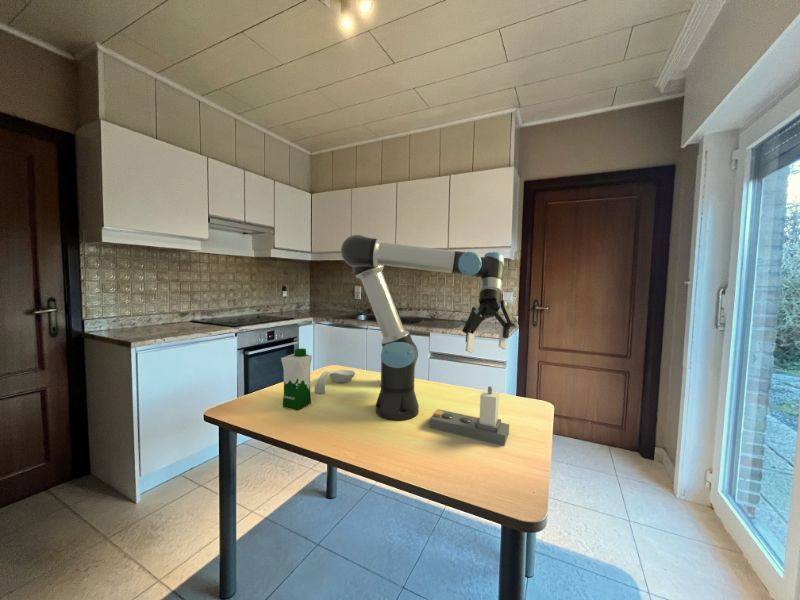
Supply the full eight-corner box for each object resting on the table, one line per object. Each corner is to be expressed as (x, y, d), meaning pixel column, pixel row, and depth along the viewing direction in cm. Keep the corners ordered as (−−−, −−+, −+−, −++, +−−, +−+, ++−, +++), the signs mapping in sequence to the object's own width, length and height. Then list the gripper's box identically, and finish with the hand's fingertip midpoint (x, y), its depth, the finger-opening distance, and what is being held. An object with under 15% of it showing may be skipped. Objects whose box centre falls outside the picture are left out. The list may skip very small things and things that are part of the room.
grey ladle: (337, 375, 157) (337, 360, 156) (359, 378, 153) (359, 363, 152) (307, 392, 134) (307, 374, 134) (332, 396, 130) (332, 378, 130)
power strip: (429, 427, 105) (429, 414, 105) (438, 417, 113) (438, 405, 112) (504, 445, 95) (505, 431, 95) (508, 433, 102) (509, 420, 102)
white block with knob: (479, 427, 100) (480, 388, 99) (482, 420, 104) (484, 383, 103) (494, 430, 98) (496, 390, 97) (497, 423, 102) (499, 385, 101)
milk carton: (314, 402, 123) (314, 349, 121) (298, 412, 115) (298, 355, 113) (295, 399, 126) (295, 347, 125) (278, 407, 118) (277, 352, 116)
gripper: (528, 289, 111) (525, 350, 103) (470, 303, 130) (463, 356, 122) (515, 279, 107) (510, 342, 99) (457, 295, 126) (449, 349, 118)
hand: (484, 349), depth 110 cm, fingers open, 13 cm apart
